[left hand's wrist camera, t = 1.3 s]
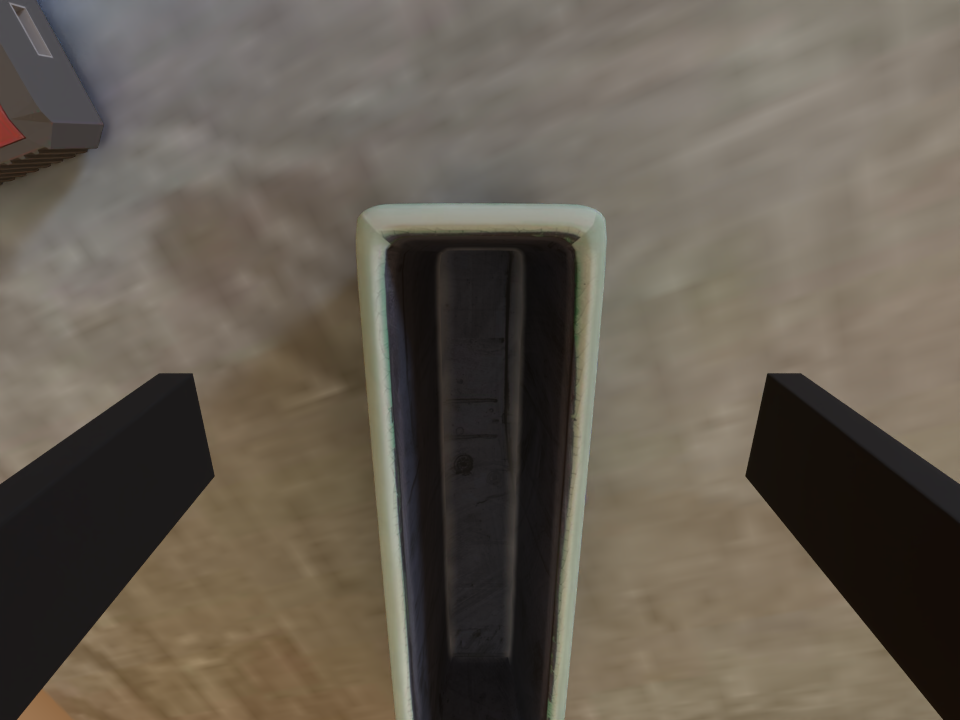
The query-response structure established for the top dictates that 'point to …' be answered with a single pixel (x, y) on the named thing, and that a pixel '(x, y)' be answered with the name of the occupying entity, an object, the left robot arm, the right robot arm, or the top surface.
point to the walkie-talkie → (39, 95)
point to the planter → (480, 444)
